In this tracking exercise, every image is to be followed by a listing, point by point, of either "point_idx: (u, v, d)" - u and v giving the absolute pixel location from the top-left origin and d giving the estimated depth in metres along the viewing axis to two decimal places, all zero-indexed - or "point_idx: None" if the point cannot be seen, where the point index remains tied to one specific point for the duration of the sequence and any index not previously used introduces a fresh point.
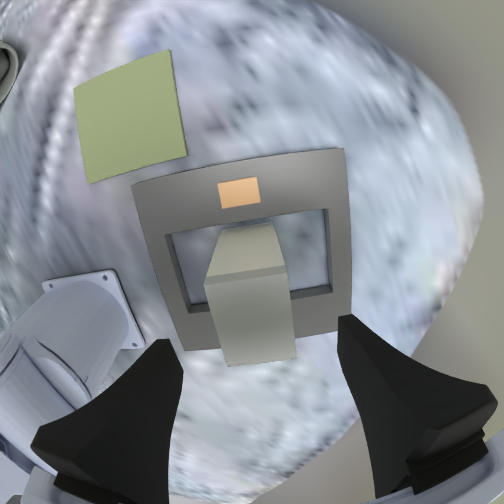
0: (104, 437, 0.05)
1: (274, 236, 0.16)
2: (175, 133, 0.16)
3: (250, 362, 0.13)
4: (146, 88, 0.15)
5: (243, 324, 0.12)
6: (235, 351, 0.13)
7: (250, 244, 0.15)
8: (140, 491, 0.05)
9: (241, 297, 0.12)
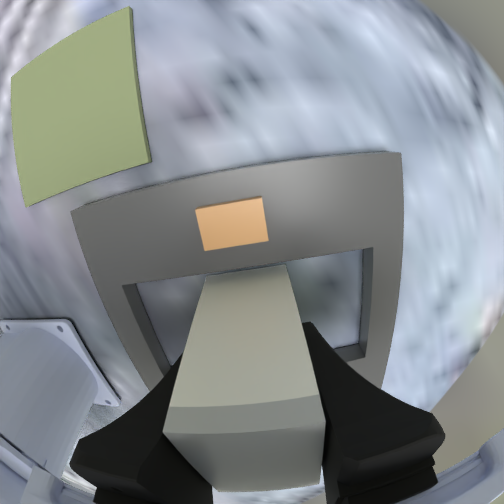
0: (161, 446, 0.05)
1: (292, 303, 0.09)
2: (130, 126, 0.09)
3: (251, 490, 0.07)
4: (93, 63, 0.08)
5: (239, 468, 0.06)
6: (228, 484, 0.06)
7: (251, 321, 0.09)
8: (192, 499, 0.05)
9: (235, 448, 0.05)
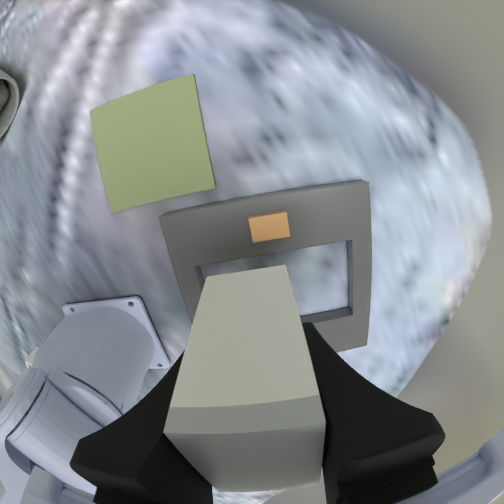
0: (161, 446, 0.05)
1: (292, 304, 0.09)
2: (202, 164, 0.17)
3: (251, 490, 0.07)
4: (170, 115, 0.15)
5: (240, 468, 0.06)
6: (229, 484, 0.06)
7: (251, 321, 0.09)
8: (192, 499, 0.05)
9: (235, 448, 0.05)
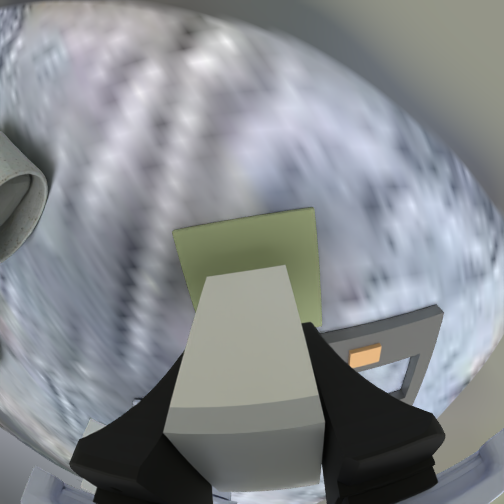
0: (161, 446, 0.05)
1: (291, 304, 0.09)
2: (313, 306, 0.17)
3: (251, 490, 0.07)
4: (284, 256, 0.16)
5: (240, 468, 0.06)
6: (228, 484, 0.06)
7: (251, 322, 0.09)
8: (192, 499, 0.05)
9: (235, 448, 0.05)
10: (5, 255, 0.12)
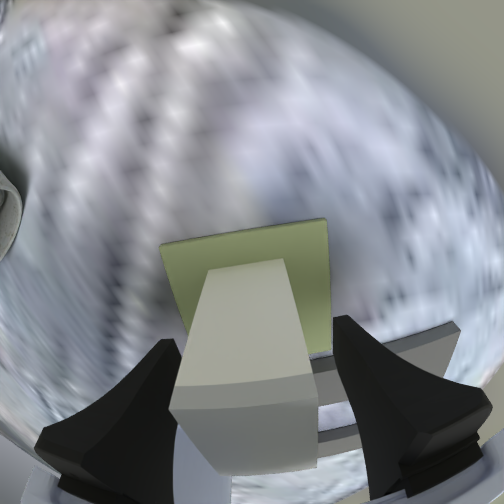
0: (110, 438, 0.05)
1: (288, 293, 0.10)
2: (322, 330, 0.14)
3: (251, 473, 0.07)
4: (291, 276, 0.13)
5: (240, 448, 0.06)
6: (229, 467, 0.07)
7: (250, 309, 0.09)
8: (146, 492, 0.05)
9: (235, 425, 0.06)
10: None
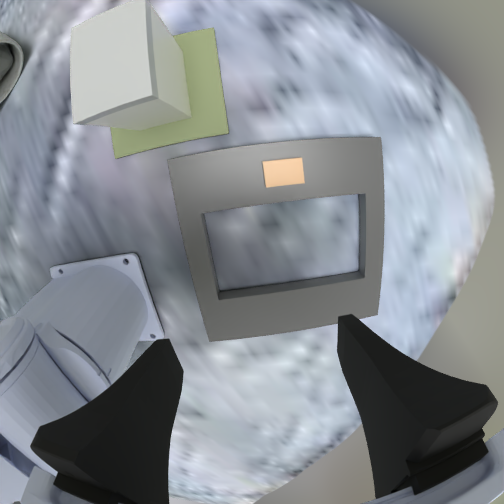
0: (104, 437, 0.05)
1: (168, 34, 0.11)
2: (217, 109, 0.15)
3: (97, 109, 0.08)
4: (188, 63, 0.14)
5: (95, 55, 0.07)
6: (83, 95, 0.08)
7: None
8: (140, 491, 0.05)
9: (99, 27, 0.07)
10: None
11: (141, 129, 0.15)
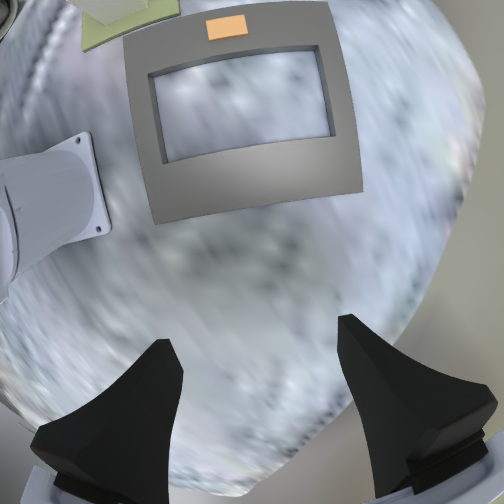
0: (104, 437, 0.05)
1: None
2: None
3: None
4: None
5: None
6: None
7: None
8: (140, 491, 0.05)
9: None
10: None
11: (105, 23, 0.12)
